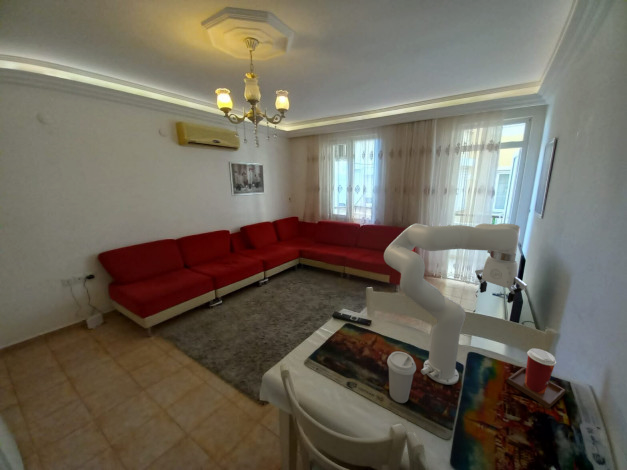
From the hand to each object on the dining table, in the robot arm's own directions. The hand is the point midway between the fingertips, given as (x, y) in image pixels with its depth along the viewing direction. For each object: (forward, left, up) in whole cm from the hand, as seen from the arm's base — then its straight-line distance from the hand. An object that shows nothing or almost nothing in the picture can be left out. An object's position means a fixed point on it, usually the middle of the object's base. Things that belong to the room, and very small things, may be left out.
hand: (495, 296), depth 95 cm
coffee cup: (-45, +5, -31) cm, 55 cm away
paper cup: (+2, -16, -30) cm, 34 cm away
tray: (+2, -16, -30) cm, 34 cm away
